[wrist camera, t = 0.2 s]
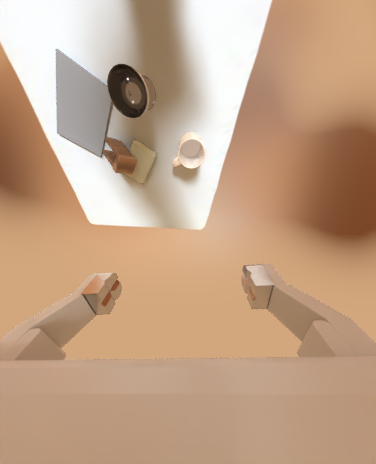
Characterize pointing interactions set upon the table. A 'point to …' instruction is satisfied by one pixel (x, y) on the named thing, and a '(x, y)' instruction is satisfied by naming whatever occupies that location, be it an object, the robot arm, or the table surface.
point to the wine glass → (130, 91)
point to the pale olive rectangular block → (141, 161)
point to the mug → (190, 151)
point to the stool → (120, 157)
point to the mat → (81, 105)
